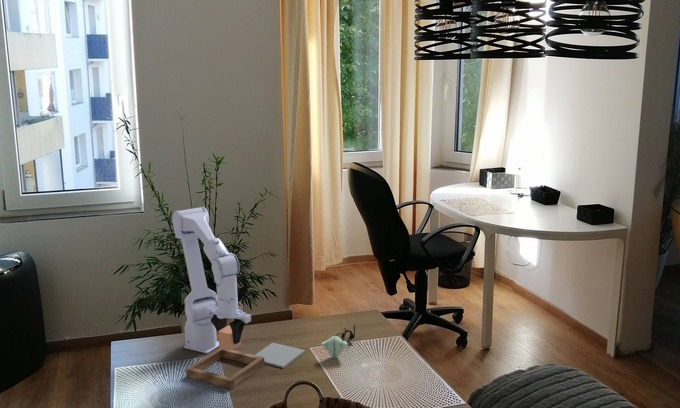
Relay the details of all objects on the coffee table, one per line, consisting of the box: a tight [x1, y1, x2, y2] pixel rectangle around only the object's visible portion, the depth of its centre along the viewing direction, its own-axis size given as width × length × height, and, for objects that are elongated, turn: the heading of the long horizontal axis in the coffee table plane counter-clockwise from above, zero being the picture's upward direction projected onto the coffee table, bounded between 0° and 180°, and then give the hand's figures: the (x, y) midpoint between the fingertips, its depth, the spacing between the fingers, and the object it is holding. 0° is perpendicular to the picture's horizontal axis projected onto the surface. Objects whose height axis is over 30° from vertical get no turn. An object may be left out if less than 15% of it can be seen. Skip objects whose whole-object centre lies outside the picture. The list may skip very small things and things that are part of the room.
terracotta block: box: [217, 325, 242, 350], centre depth 197 cm, size 4×4×5 cm
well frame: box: [185, 347, 266, 390], centre depth 198 cm, size 16×16×2 cm
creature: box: [333, 324, 357, 344], centre depth 216 cm, size 8×5×8 cm
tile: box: [254, 342, 306, 369], centre depth 207 cm, size 12×12×1 cm
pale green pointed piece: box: [320, 335, 349, 359], centre depth 205 cm, size 8×4×7 cm, turn 86°
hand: (230, 341), depth 197 cm, fingers closed on terracotta block, 4 cm apart
